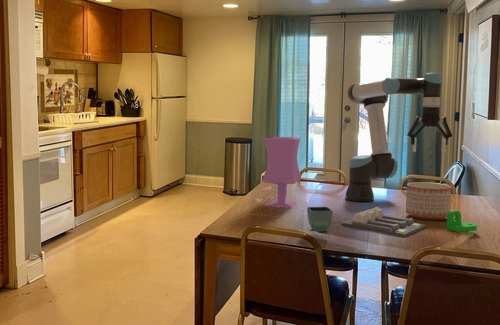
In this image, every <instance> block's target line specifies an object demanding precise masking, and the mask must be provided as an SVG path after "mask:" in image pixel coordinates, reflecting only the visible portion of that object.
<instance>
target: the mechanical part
mask: <svg viewBox="0 0 500 325" xmlns="http://www.w3.org/2000/svg"><path fill="white" fill-rule="evenodd" d="M446 229H447V230H450V231H453V232H456V233H459V232H460V233H461V232H474V231H477V229H478V225H477V224H476V223H473V222H470V221H468V222H467V221H466V222H462V214H461V212H460V211H459V210H455V209H450V212H449V213H448V215H447V217H446Z"/></svg>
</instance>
